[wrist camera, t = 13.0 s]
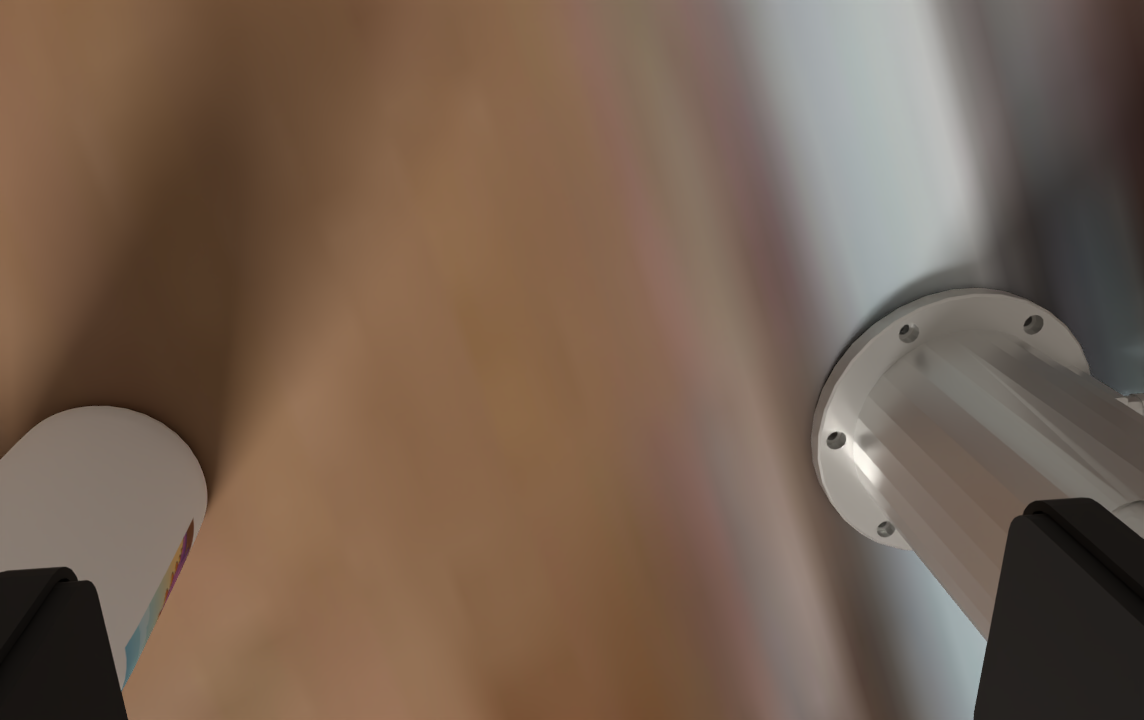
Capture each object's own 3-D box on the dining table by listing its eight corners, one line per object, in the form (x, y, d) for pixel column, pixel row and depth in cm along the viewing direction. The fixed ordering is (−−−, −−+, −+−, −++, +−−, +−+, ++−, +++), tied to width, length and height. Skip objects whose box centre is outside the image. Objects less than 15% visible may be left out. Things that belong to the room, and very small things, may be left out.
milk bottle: (-23, 432, 37) (-497, 875, 19) (162, 375, 37) (-128, 761, 19) (70, 584, 40) (-259, 1096, 22) (241, 531, 40) (58, 998, 22)
